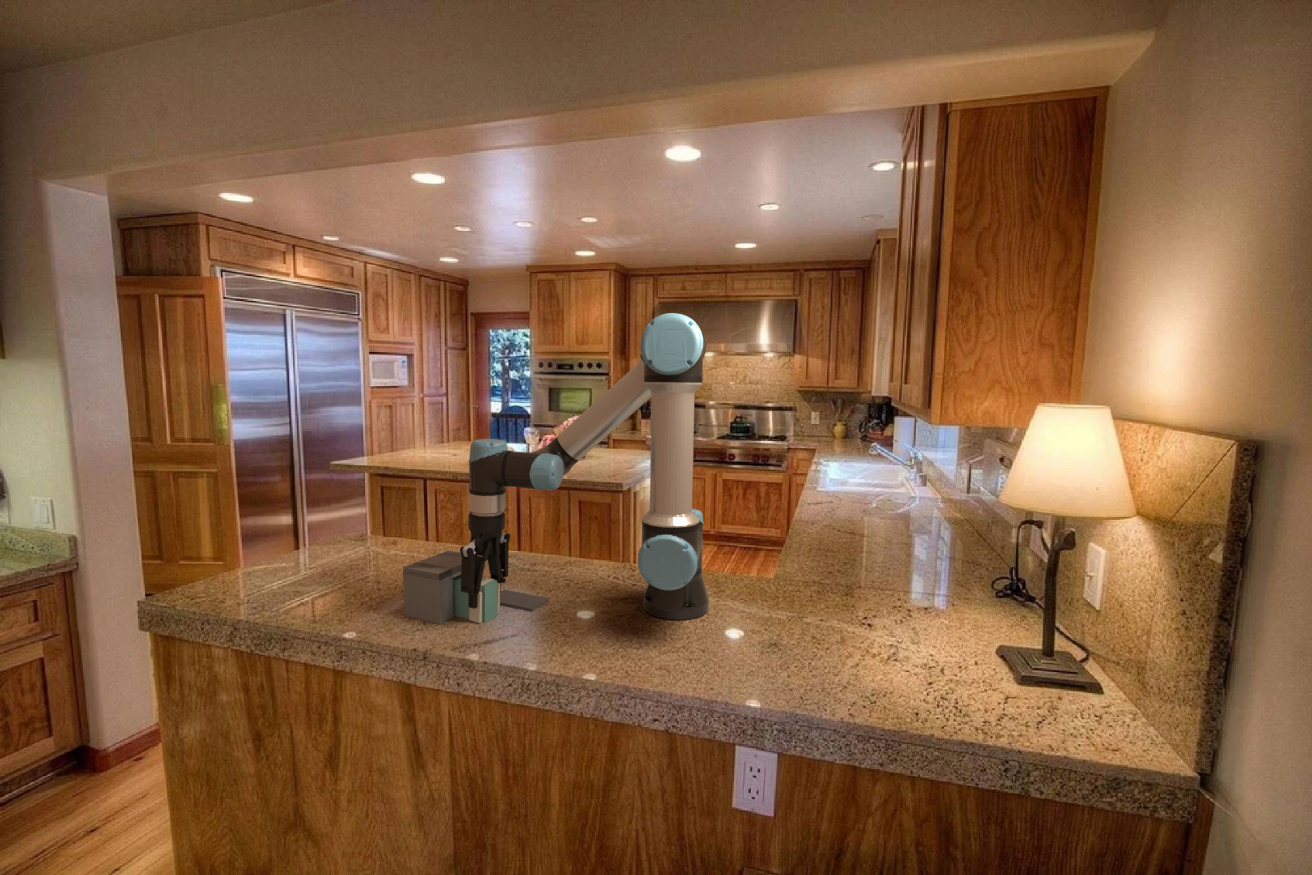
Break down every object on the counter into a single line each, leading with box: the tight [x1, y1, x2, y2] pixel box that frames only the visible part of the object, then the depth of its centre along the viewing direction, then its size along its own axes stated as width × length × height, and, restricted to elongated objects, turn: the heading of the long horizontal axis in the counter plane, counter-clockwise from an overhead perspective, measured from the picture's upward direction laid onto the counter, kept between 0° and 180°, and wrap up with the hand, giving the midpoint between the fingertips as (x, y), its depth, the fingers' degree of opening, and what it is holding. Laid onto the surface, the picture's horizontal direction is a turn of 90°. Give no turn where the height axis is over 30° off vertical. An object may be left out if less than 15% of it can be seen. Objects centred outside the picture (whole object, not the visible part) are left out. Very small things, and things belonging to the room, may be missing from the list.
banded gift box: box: [453, 575, 498, 623], centre depth 126 cm, size 12×4×8 cm, turn 67°
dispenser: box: [402, 550, 483, 625], centre depth 128 cm, size 10×14×11 cm
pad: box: [500, 589, 550, 612], centre depth 134 cm, size 13×7×1 cm, turn 67°
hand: (484, 615), depth 124 cm, fingers open, 5 cm apart
